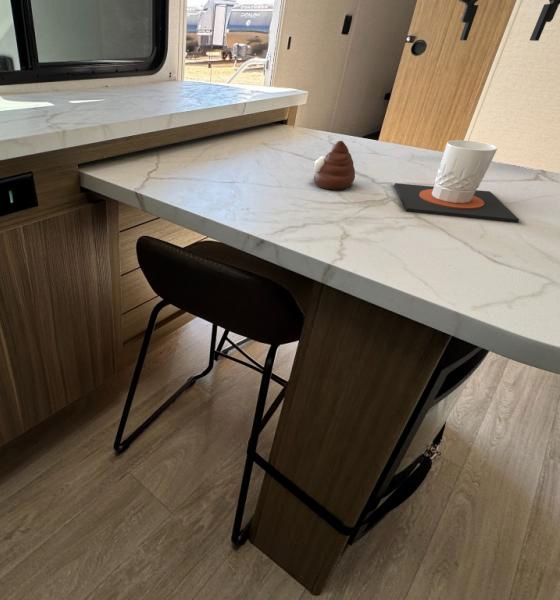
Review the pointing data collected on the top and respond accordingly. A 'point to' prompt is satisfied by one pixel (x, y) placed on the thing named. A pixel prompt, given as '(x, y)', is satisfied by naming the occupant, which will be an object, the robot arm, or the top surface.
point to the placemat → (453, 204)
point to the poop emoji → (335, 168)
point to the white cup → (462, 170)
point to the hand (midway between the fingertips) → (497, 40)
